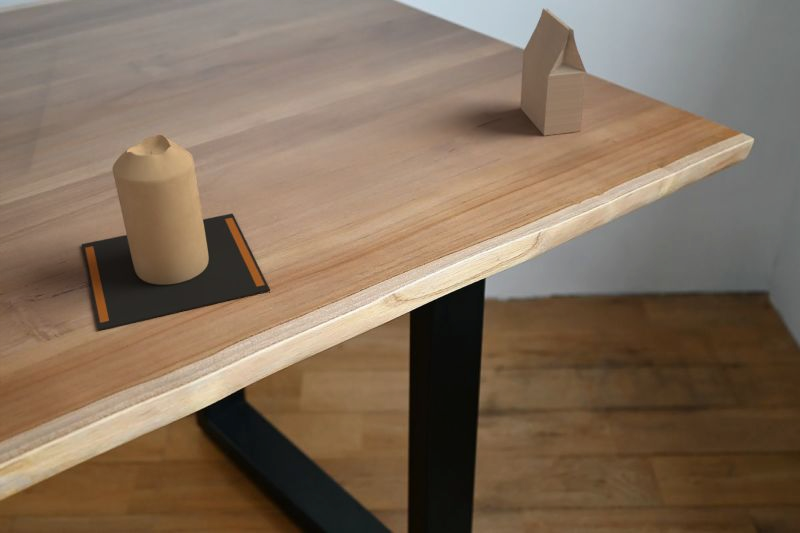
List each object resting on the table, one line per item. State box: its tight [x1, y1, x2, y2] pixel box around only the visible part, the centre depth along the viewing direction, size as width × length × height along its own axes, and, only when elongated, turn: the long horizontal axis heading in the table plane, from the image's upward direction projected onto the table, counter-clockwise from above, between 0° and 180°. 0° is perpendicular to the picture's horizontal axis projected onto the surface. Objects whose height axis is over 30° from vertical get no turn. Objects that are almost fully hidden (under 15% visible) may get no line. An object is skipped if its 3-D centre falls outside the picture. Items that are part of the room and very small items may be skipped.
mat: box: [81, 213, 271, 332], centre depth 68 cm, size 12×12×1 cm
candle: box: [112, 134, 209, 285], centre depth 65 cm, size 6×6×10 cm
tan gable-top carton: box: [519, 8, 587, 136], centre depth 87 cm, size 4×7×10 cm, turn 13°
